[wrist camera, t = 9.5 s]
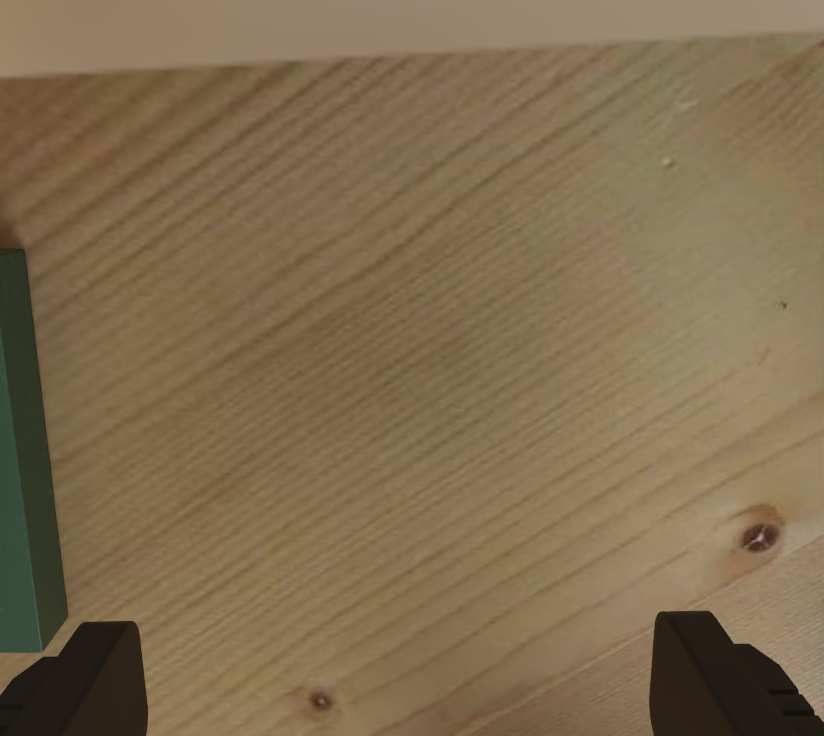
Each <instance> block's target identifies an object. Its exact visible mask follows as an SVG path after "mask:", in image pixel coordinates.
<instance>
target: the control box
mask: <svg viewBox="0 0 824 736" xmlns="http://www.w3.org/2000/svg"><path fill="white" fill-rule="evenodd" d="M67 618H68V616H67V607H66V599H65V590H64V582H63V573H62V565H61V557H60V548H59V540H58V531H57V523H56V515H55V506H54V498H53V489H52V481H51V472H50V464H49V456H48V447H47V439H46V430H45V422H44V414H43V405H42V397H41V388H40V380H39V372H38V363H37V355H36V346H35V338H34V329H33V321H32V313H31V304H30V296H29V287H28V279H27V271H26V262H25V254H24V250H22V249H0V652H43V651H44V650H45V648H46V647H47V645H48V644H49V643H50V641H51V640H52V639H53V637H54V636H55V634H56V633H57V632H58V630H59V629H60V628H61V626H62V625H63V623H64V622H65V621H66V619H67Z"/></svg>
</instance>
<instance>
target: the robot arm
mask: <svg viewBox="0 0 824 736" xmlns="http://www.w3.org/2000/svg"><path fill="white" fill-rule="evenodd" d="M649 707H650V718H651V724H652V729H653V733H654V736H824V723H823V721H822V720H821V719H820V717H819V716H815V714H814V710H813V708H812V707H811V706H810V704H809V703H808V702H807V700H806V699H805V698H804V697H803V695H799V693H798V689H797V687H796V686H795V685H794V684H793V682H792V681H791V680H790V678H789V677H788V676H787V674H786V673H785V672H784V671H783V669H782V668H781V667H780V665H779V664H777V663H776V662H774V661H773V660H772V659H770V658H769V657H767V656H766V655H764V654H763V653H762V652H760V651H759V650H757V649H756V648H754V647H753V646H752V645H750V644H734V643H733V642H732V640H731V639H730V637H729V636H728V635H727V633H726V632H725V630H724V629H723V628H722V626H721V625H720V623H719V622H718V621H717V619H716V618H715V616H714V615H713V614H712V613H711V612H710V611H670V612H659V613H658V615H657V617H656V621H655V628H654V641H653V655H652V669H651V682H650V696H649ZM147 724H148V705H147V696H146V687H145V678H144V669H143V660H142V652H141V643H140V635H139V630H138V627H137V625H136V623H135V622H134V621H108V622H84V623H82V624H81V625H80V626H79V627H78V628H77V630H76V631H75V632H74V634H73V635H72V637H71V638H70V639H69V641H68V642H67V644H66V645H65V647H64V648H63V649H62V651H61V652H60V654H59V655H58V657H43V658H41V659H40V660H39V661H37V662H36V663H34V664H33V665H32V666H30V667H29V668H28V669H26V670H25V671H23V672H22V673H21V674H19V675H18V676H17V677H15V678H14V679H13V680H12V681H11V682H10V684H9V685H8V686H7V688H6V689H5V690H4V691H3V693H2V694H1V695H0V736H146V732H147Z"/></svg>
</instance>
